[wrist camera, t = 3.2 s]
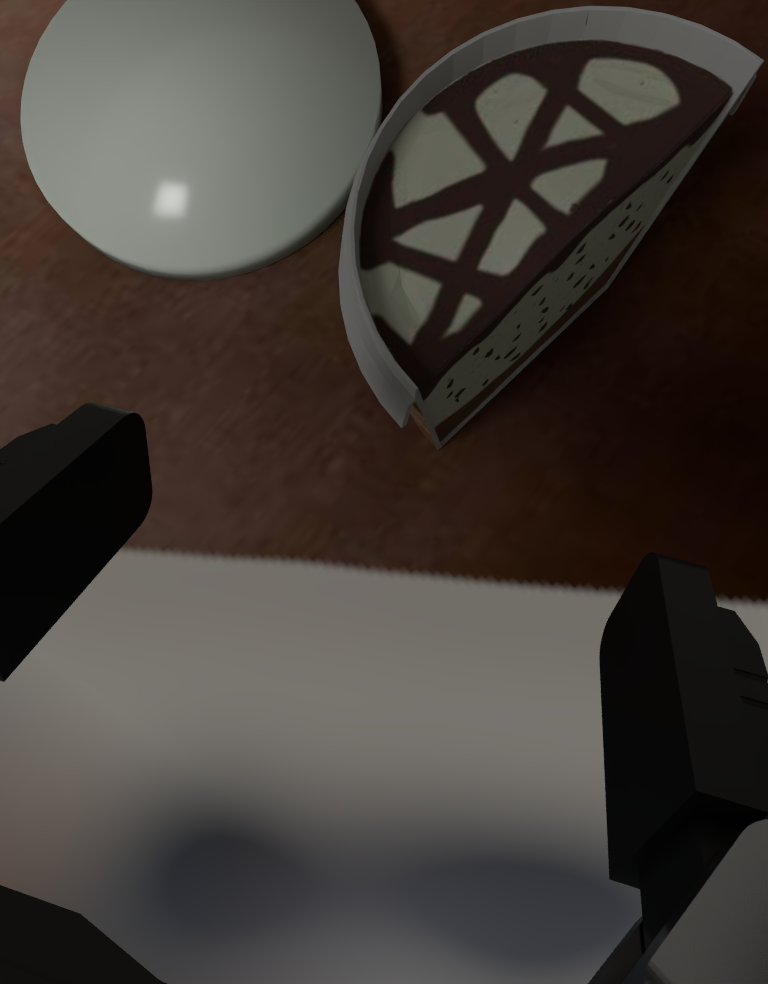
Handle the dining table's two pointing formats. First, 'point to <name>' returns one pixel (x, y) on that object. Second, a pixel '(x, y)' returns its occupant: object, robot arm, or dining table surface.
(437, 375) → the food container
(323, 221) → the serving plate
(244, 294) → the dining table surface
